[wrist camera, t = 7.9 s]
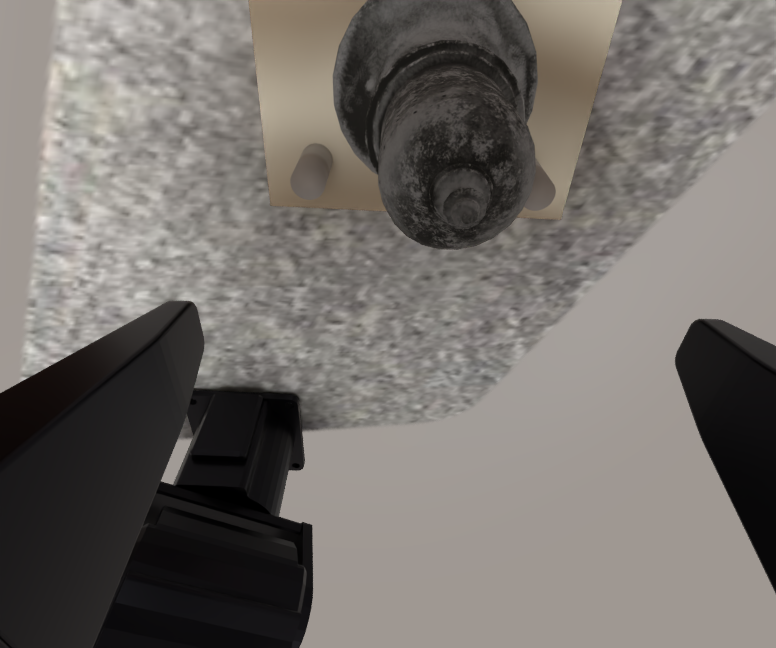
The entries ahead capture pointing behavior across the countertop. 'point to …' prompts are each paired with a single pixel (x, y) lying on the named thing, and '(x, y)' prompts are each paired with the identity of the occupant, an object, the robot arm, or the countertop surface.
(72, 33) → the countertop surface
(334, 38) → the pin board
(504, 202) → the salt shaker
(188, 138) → the countertop surface
